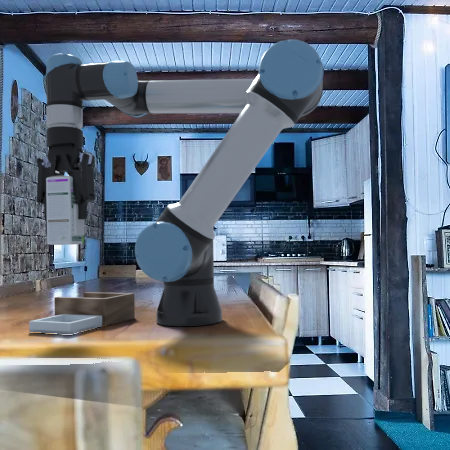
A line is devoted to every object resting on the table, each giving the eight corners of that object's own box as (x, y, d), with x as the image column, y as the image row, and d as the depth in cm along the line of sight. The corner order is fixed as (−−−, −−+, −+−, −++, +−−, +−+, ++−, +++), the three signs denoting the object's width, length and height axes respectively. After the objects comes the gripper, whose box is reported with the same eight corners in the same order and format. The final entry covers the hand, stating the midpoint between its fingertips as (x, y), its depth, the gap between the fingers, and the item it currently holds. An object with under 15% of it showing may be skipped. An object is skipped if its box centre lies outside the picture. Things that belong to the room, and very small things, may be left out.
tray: (102, 327, 109) (102, 315, 109) (70, 335, 99) (70, 323, 100) (63, 325, 113) (63, 313, 113) (29, 333, 103) (29, 321, 103)
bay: (134, 318, 121) (134, 293, 122) (105, 326, 110) (105, 298, 111) (86, 315, 127) (86, 292, 127) (54, 323, 116) (54, 297, 116)
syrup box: (71, 244, 103) (71, 175, 104) (45, 244, 105) (45, 176, 105) (84, 244, 109) (84, 178, 109) (60, 244, 110) (60, 179, 111)
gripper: (112, 127, 108) (113, 234, 107) (42, 136, 115) (42, 236, 114) (90, 120, 101) (91, 234, 100) (17, 129, 108) (18, 236, 107)
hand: (65, 235), depth 107 cm, fingers closed on syrup box, 6 cm apart
